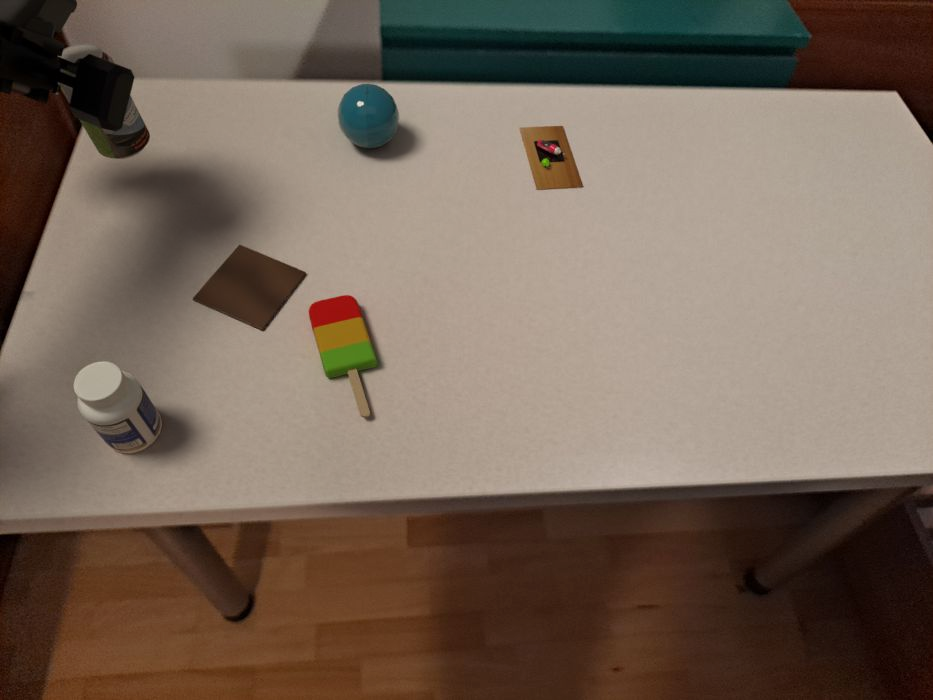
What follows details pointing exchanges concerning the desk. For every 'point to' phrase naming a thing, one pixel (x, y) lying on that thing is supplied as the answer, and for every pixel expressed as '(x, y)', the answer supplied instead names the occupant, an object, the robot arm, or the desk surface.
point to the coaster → (250, 287)
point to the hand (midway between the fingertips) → (105, 89)
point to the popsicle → (343, 342)
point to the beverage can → (106, 141)
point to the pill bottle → (117, 407)
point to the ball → (368, 116)
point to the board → (550, 157)
